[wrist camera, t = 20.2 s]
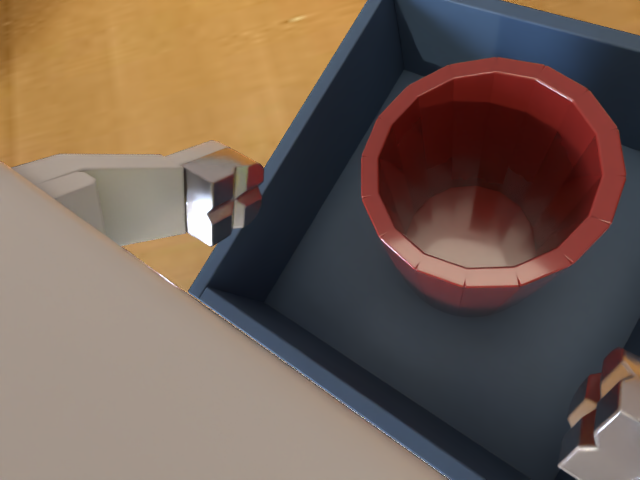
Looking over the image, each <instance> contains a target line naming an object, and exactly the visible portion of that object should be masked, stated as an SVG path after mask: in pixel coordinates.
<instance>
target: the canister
mask: <svg viewBox="0 0 640 480" xmlns="http://www.w3.org/2000/svg"><path fill="white" fill-rule="evenodd" d="M626 175H627V174H626V169H625V163H624V157H623V152H622V146H621V140H620V135H619V130H618V129H617V126H616V124H615V123H614V122H613V120H612V119H611V118H610V116H609V115H608V114H607V112H606V111H605V110H604V108H603V107H602V106H601V104H600V103H599V102H598V100H597V99H596V98H595V96H594V95H593V94H592V92H591V91H590V90H588V89H587V88H586V87H584V86H582V85H581V84H579V83H577V82H575V81H574V80H572V79H570V78H568V77H567V76H565V75H563V74H561V73H560V72H558V71H556V70H554V69H552V68H551V67H549V66H545V65H544V64H538V63H532V62H526V61H520V60H514V59H508V58H502V57H498V58H496V57H492V58H485V59H479V60H473V61H467V62H460V63H454V64H450V65H447V66H445V67H443V68H441V69H439V70H437V71H435V72H433V73H431V74H429V75H427V76H425V77H423V78H421V79H419V80H418V81H416V82H414V83H412V84H410V85H409V86H407V87H406V88H405V89H404V90H403V91H402V92H401V93H400V94H399V95H398V96H397V97H396V98H395V99H394V101H393V102H392V103H391V104H390V105H389V106H388V107H387V108H386V109H385V110H384V111H383V112H382V113H381V114H380V115H379V116H378V118H377V120H376V122H375V124H374V127H373V129H372V131H371V134H370V136H369V139H368V141H367V143H366V146H365V148H364V151H363V153H362V157H361V198H362V202H363V204H364V207H365V209H366V211H367V213H368V215H369V218H370V220H371V222H372V224H373V226H374V229H375V231H376V233H377V235H378V237H379V239H380V241H381V242H382V244H383V246H384V247H385V249H386V251H387V252H388V254H389V256H390V257H391V259H392V261H393V262H394V264H395V266H396V267H397V269H398V271H399V272H400V274H401V276H402V277H403V279H404V281H405V282H406V284H407V285H408V286H409V287H410V288H411V289H412V290H413V292H414V293H415V294H416V295H417V296H418V297H419V298H420V299H422V300H423V301H424V302H425V303H427V304H428V305H430V306H432V307H433V308H435V309H437V310H439V311H441V312H444V313H447V314H450V315H454V316H459V317H471V318H473V317H484V316H489V315H493V314H496V313H499V312H502V311H504V310H506V309H508V308H510V307H512V306H515V305H517V304H519V303H520V302H522V301H523V300H524V299H526V298H527V297H529V296H530V295H531V294H533V293H534V292H536V291H537V290H538V289H540V288H541V287H543V286H544V285H545V284H547V283H548V282H550V281H551V280H552V279H554V278H555V277H557V276H558V275H559V274H561V273H562V272H564V271H565V270H566V269H568V268H569V267H571V266H572V265H573V264H575V263H576V262H577V261H578V260H579V259H580V258H581V257H582V256H583V255H584V254H585V253H586V251H587V250H588V249H589V248H590V247H591V246H592V245H593V244H594V243H595V242H596V241H597V240H598V239H599V238H600V237H601V236H602V235H603V234H604V233H605V232H606V231H607V230H608V229H609V228H610V225H611V224H612V222H613V219H614V216H615V213H616V210H617V207H618V204H619V201H620V197H621V194H622V191H623V188H624V185H625V182H626Z"/></svg>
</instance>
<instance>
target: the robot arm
mask: <svg viewBox="0 0 640 480" xmlns="http://www.w3.org/2000/svg"><path fill="white" fill-rule="evenodd" d="M263 182H264V168H263V167H262V165H261V164H260V163H258V162H256V161H254V160H252V159H250V158H248V157H247V156H245V155H243V154H241V153H239V152H237V151H235V150H234V149H231V148H230V147H228V146H226V145H224V144H222V143H220V142H217V141H213V140H211V141H208V142H205V143H202V144H199V145H196V146H194V147H191V148H188V149H185V150H182V151H179V152H176V153H174V154H171V155H168V156H165V157H164V156H162V155H160V154H57V155H53V156H50V157H47V158H43V159H40V160H36V161H33V162H29V163H26V164H22V165H19V166H15V167H12V168H10V167H9V166H7V165H6V164H4V163H3V162H2V161H0V480H449V479H448V478H446V477H445V476H444V475H442V474H441V473H439V472H438V471H437V470H435V469H434V468H432V467H431V466H430V465H428V464H427V463H425V462H424V461H423V460H421V459H420V458H418V457H417V456H415V455H414V454H413V453H411V452H410V451H408V450H407V449H406V448H404V447H403V446H401V445H400V444H399V443H397V442H396V441H394V440H393V439H392V438H390V437H389V436H387V435H386V434H385V433H383V432H382V431H380V430H379V429H378V428H376V427H375V426H373V425H372V424H370V423H369V422H368V421H366V420H365V419H363V418H362V417H361V416H359V415H358V414H356V413H355V412H354V411H352V410H351V409H349V408H348V407H347V406H345V405H344V404H342V403H341V402H340V401H338V400H337V399H335V398H334V397H333V396H331V395H330V394H328V393H327V392H325V391H324V390H323V389H321V388H320V387H318V386H317V385H316V384H314V383H313V382H311V381H310V380H309V379H307V378H306V377H304V376H303V375H302V374H300V373H299V372H297V371H296V370H295V369H293V368H292V367H290V366H289V365H287V364H286V363H285V362H283V361H282V360H280V359H279V358H278V357H276V356H275V355H273V354H272V353H271V352H269V351H268V350H266V349H265V348H264V347H262V346H261V345H259V344H258V343H256V342H255V341H254V340H252V339H251V338H249V337H248V336H247V335H245V334H244V333H242V332H241V331H240V330H238V329H237V328H235V327H234V326H233V325H231V324H230V323H228V322H227V321H226V320H224V319H223V318H221V317H220V316H218V315H217V314H216V313H214V312H213V311H211V310H210V309H209V308H207V307H206V306H204V305H203V304H202V303H200V302H199V301H197V300H196V299H195V298H193V297H192V296H190V295H189V294H187V293H186V292H185V291H183V290H182V289H180V288H179V287H178V286H176V285H175V284H173V283H172V282H171V281H169V280H168V279H166V278H165V277H164V276H162V275H161V274H159V273H158V272H157V271H155V270H154V269H152V268H151V267H149V266H148V265H147V264H145V263H144V262H142V261H141V260H140V259H138V258H137V257H135V256H134V255H133V254H131V253H130V252H128V251H127V250H126V249H124V248H123V247H121V246H123V245H129V244H134V243H139V242H144V241H149V240H155V239H160V238H165V237H170V236H175V235H180V234H185V233H186V232H187V233H189V234H190V235H192V236H194V237H196V238H197V239H199V240H201V241H202V242H204V243H206V244H207V245H209V246H211V247H212V246H214V245H215V244H217V243H219V242H220V241H222V240H224V239H225V238H227V237H229V236H230V235H231V233H232V229H235V228H244V227H245V226H247V225H248V224H250V223H252V221H253V220H254V219H255V217H256V216H257V215H258V213H259V210H260V208H261V204H262V195H261V192H260V190H259V186H260V185H261V184H262V183H263ZM567 420H568V422H569V424H570V426H571V429H570V430H569V431H568V432H567V433H566V434H565V435H564V436H563V439H562V444H561V450H560V455H559V461H558V466H557V467H559V468H560V469H562V470H563V471H565V472H566V473H568V474H569V475H571V476H572V477H574V478H575V479H577V480H640V357H639V356H637V355H635V354H633V353H631V352H629V351H627V350H625V349H623V348H621V347H619V346H618V347H617V348H615V349H614V350H612V351H611V352H610V353H609V354H608V355H607V356H606V357H605V358H604V359H603V364H602V371H601V373H596V374H590V375H589V376H588V377H587V378H586V379H585V380H584V381H583V383H582V384H581V385H580V386H579V388H578V390H577V391H576V393H575V395H574V396H573V398H572V401H571V404H570V406H569V410H568V414H567Z"/></svg>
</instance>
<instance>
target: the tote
mask: <svg viewBox="0 0 640 480" xmlns="http://www.w3.org/2000/svg"><path fill="white" fill-rule="evenodd" d="M492 57H496V58H498V57H502V58H508V59H514V60H520V61H526V62H532V63H538V64H544V65H545V66H549V67H551V68H552V69H554V70H556V71H558V72H560V73H561V74H563V75H565V76H567V77H568V78H570V79H572V80H574V81H575V82H577V83H579V84H581V85H582V86H584V87H586V88H587V89H588V90H590V91H591V92H592V94H593V95H594V96H595V98H596V99H597V100H598V102H599V103H600V104H601V106H602V107H603V108H604V110H605V111H606V112H607V114H608V115H609V116H610V118H611V119H612V120H613V122H614V123H615V124H616V126H617V129H618V130H619V135H620V140H621V146H622V152H623V157H624V163H625V169H626V174H627V175H626V182H625V185H624V188H623V191H622V194H621V197H620V201H619V204H618V207H617V210H616V213H615V216H614V219H613V222H612V224H611V225H610V228H609V229H608V230H607V231H606V232H605V233H604V234H603V235H602V236H601V237H600V238H599V239H598V240H597V241H596V242H595V243H594V244H593V245H592V246H591V247H590V248H589V249H588V250H587V251H586V253H585V254H584V255H583V256H582V257H581V258H580V259H579V260H578V261H577V262H576V263H575V264H573V265H572V266H571V267H569V268H568V269H566V270H565V271H564V272H562V273H561V274H559V275H558V276H557V277H555V278H554V279H552V280H551V281H550V282H548V283H547V284H545V285H544V286H543V287H541V288H540V289H538V290H537V291H536V292H534V293H533V294H531V295H530V296H529V297H527V298H526V299H524V300H523V301H522V302H520V303H519V304H517V305H515V306H512V307H510V308H508V309H506V310H504V311H502V312H499V313H496V314H493V315H489V316H484V317H473V318H471V317H459V316H454V315H450V314H447V313H444V312H441V311H439V310H437V309H435V308H433V307H432V306H430V305H428V304H427V303H425V302H424V301H423V300H422V299H420V298H419V297H418V296H417V295H416V294H415V293H414V292H413V290H412V289H411V288H410V287H409V286H408V285H407V284H406V282H405V281H404V279H403V277H402V276H401V274H400V272H399V271H398V269H397V267H396V266H395V264H394V262H393V261H392V259H391V257H390V256H389V254H388V252H387V251H386V249H385V247H384V246H383V244H382V242H381V241H380V239H379V237H378V235H377V233H376V231H375V229H374V226H373V224H372V222H371V220H370V218H369V215H368V213H367V211H366V209H365V207H364V204H363V202H362V198H361V157H362V153H363V151H364V148H365V146H366V143H367V141H368V139H369V136H370V134H371V131H372V129H373V127H374V124H375V122H376V120H377V118H378V116H379V115H380V114H381V113H382V112H383V111H384V110H385V109H386V108H387V107H388V106H389V105H390V104H391V103H392V102H393V101H394V99H395V98H396V97H397V96H398V95H399V94H400V93H401V92H402V91H403V90H404V89H405V88H406V87H407V86H409V85H410V84H412V83H414V82H416V81H418V80H419V79H421V78H423V77H425V76H427V75H429V74H431V73H433V72H435V71H437V70H439V69H441V68H443V67H445V66H447V65H450V64H454V63H460V62H467V61H473V60H479V59H485V58H492ZM259 190H260V192H261V195H262V204H261V208H260V210H259V213H258V215H257V216H256V217H255V219H254V220H253V221H252V223H250V224H248V225H247V226H245V227H244V228H235V229H232V233H231V235H230V236H229V237H227V238H225V239H224V240H222V241H220V242H219V243H217V245H216V247H215V248H214V250H213V252H212V253H211V255H210V256H209V258H208V260H207V261H206V263H205V265H204V266H203V268H202V269H201V271H200V273H199V274H198V276H197V278H196V279H195V281H194V282H193V284H192V286H191V287H190V289H189V290H188V292H189V293H190V294H191V295H193V296H194V297H195V298H197V299H199V300H200V301H201V302H202V303H204V304H205V305H207V306H208V307H209V308H211V309H212V310H214V311H215V312H216V313H218V314H219V315H221V316H222V317H224V318H225V319H226V320H228V321H229V322H231V323H232V324H233V325H235V326H236V327H238V328H239V329H240V330H242V331H243V332H245V333H246V334H247V335H249V336H250V337H252V338H253V339H254V340H256V341H257V342H259V343H260V344H261V345H263V346H264V347H266V348H267V349H268V350H270V351H271V352H273V353H274V354H275V355H277V356H278V357H280V358H281V359H282V360H284V361H285V362H287V363H288V364H289V365H291V366H292V367H294V368H295V369H296V370H298V371H299V372H301V373H302V374H303V375H305V376H306V377H308V378H309V379H310V380H312V381H313V382H315V383H316V384H317V385H319V386H320V387H322V388H323V389H324V390H326V391H327V392H329V393H330V394H332V395H333V396H334V397H336V398H337V399H339V400H340V401H341V402H343V403H344V404H346V405H347V406H348V407H350V408H351V409H353V410H354V411H355V412H357V413H358V414H360V415H361V416H362V417H364V418H365V419H367V420H368V421H369V422H371V423H372V424H374V425H375V426H376V427H378V428H379V429H381V430H382V431H383V432H385V433H386V434H388V435H389V436H390V437H392V438H393V439H395V440H396V441H397V442H399V443H400V444H402V445H403V446H404V447H406V448H407V449H409V450H410V451H411V452H413V453H414V454H416V455H417V456H418V457H420V458H421V459H423V460H424V461H425V462H427V463H428V464H430V465H431V466H433V467H434V468H435V469H437V470H438V471H440V472H441V473H442V474H444V475H445V476H447V477H448V478H449V479H451V480H577V479H575V478H574V477H572V476H571V475H569V474H568V473H566V472H565V471H563V470H562V469H560V468H559V467H557V466H558V461H559V455H560V450H561V444H562V439H563V436H564V435H565V434H566V433H567V432H568V431H569V430H570V429H571V426H570V424H569V422H568V420H567V414H568V410H569V406H570V404H571V401H572V398H573V396H574V395H575V393H576V391H577V390H578V388H579V386H580V385H581V384H582V383H583V381H584V380H585V379H586V378H587V377H588V376H589V375H590V374H596V373H601V371H602V364H603V359H604V358H605V357H606V356H607V355H608V354H609V353H610V352H611V351H612V350H614V349H615V348H617V347H618V346H619V347H621V348H623V349H625V350H627V351H629V352H631V353H633V354H635V355H637V356H639V357H640V36H639V35H635V34H632V33H628V32H624V31H620V30H616V29H612V28H608V27H604V26H600V25H596V24H592V23H588V22H584V21H580V20H576V19H572V18H568V17H565V16H561V15H557V14H553V13H549V12H545V11H541V10H537V9H533V8H529V7H525V6H521V5H517V4H513V3H509V2H505V1H501V0H368V1H367V2H366V4H365V5H364V7H363V9H362V10H361V12H360V14H359V15H358V17H357V18H356V20H355V22H354V23H353V25H352V26H351V28H350V30H349V31H348V33H347V35H346V36H345V38H344V39H343V41H342V43H341V44H340V46H339V48H338V49H337V51H336V52H335V54H334V56H333V57H332V59H331V60H330V62H329V64H328V65H327V67H326V69H325V70H324V72H323V73H322V75H321V77H320V78H319V80H318V82H317V83H316V85H315V86H314V88H313V90H312V91H311V93H310V94H309V96H308V98H307V99H306V101H305V103H304V104H303V106H302V107H301V109H300V111H299V112H298V114H297V116H296V117H295V119H294V120H293V122H292V124H291V125H290V127H289V128H288V130H287V132H286V133H285V135H284V137H283V138H282V140H281V141H280V143H279V145H278V146H277V148H276V150H275V151H274V153H273V154H272V156H271V158H270V159H269V161H268V163H267V164H266V166H265V167H264V182H263V183H262V184H261V185H260V186H259Z"/></svg>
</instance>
